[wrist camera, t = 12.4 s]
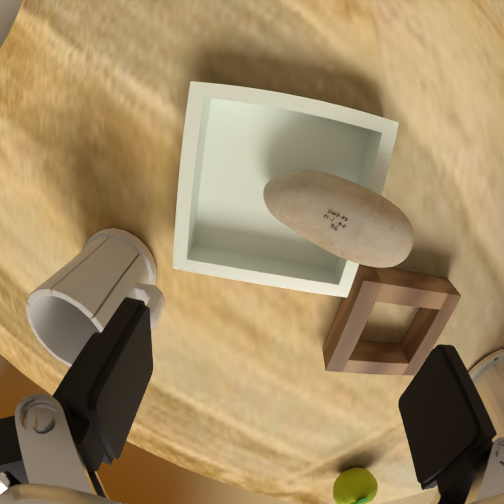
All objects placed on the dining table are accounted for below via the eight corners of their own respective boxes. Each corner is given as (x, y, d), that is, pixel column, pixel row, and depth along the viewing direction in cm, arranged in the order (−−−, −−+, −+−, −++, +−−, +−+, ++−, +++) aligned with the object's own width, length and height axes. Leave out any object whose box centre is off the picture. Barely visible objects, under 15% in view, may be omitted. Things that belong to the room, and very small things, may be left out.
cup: (132, 201, 29) (65, 258, 18) (187, 271, 32) (151, 353, 21) (74, 252, 32) (12, 312, 21) (123, 310, 35) (80, 383, 24)
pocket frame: (447, 278, 30) (461, 295, 27) (407, 356, 36) (414, 375, 33) (355, 261, 30) (363, 280, 27) (322, 349, 36) (325, 370, 33)
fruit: (322, 475, 53) (324, 514, 45) (350, 459, 50) (355, 501, 41) (354, 479, 55) (358, 515, 46) (382, 463, 51) (388, 501, 42)
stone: (257, 157, 23) (400, 215, 16) (310, 157, 27) (432, 205, 20) (247, 225, 26) (370, 301, 19) (298, 215, 30) (407, 274, 22)
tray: (383, 119, 24) (399, 122, 21) (340, 277, 31) (347, 297, 28) (201, 84, 24) (190, 81, 20) (183, 250, 31) (172, 268, 28)
